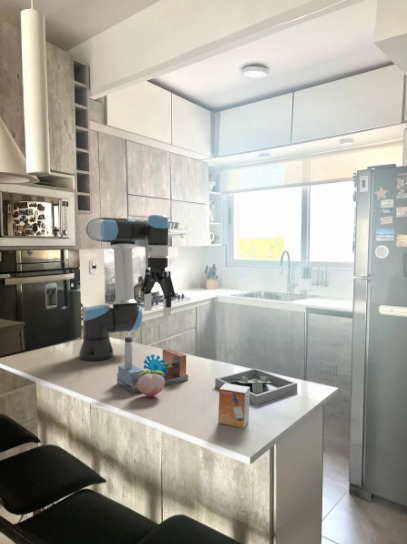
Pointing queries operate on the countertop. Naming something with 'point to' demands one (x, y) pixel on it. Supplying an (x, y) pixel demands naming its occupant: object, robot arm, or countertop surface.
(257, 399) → the parts tray
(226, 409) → the small box
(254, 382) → the metal bracket
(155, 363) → the gear
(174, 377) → the frame
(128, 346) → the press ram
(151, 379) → the decorative fruit
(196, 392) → the countertop surface
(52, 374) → the countertop surface
